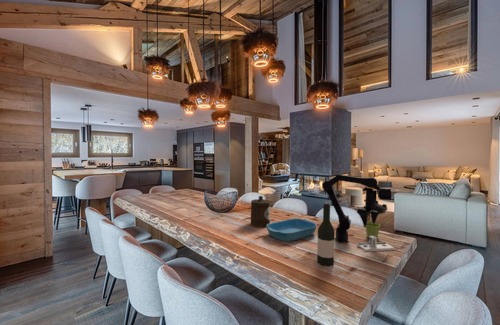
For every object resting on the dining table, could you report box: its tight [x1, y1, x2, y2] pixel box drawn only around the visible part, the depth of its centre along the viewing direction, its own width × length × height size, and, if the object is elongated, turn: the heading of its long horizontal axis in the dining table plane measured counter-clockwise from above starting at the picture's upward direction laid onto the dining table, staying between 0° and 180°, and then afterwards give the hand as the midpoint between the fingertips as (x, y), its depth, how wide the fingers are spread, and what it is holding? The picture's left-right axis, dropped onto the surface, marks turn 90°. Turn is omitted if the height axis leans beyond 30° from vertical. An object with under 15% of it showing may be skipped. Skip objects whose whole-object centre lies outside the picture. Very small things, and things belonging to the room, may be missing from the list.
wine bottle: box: [316, 202, 336, 268], centre depth 116 cm, size 8×8×30 cm
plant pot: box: [364, 222, 381, 239], centre depth 154 cm, size 9×9×9 cm
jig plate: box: [356, 241, 396, 252], centre depth 137 cm, size 18×8×2 cm, turn 98°
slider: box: [368, 236, 378, 247], centre depth 136 cm, size 3×4×5 cm
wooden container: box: [250, 195, 271, 228], centre depth 180 cm, size 15×15×22 cm
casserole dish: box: [266, 218, 318, 242], centre depth 158 cm, size 37×22×7 cm, turn 125°
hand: (369, 224), depth 140 cm, fingers open, 9 cm apart
